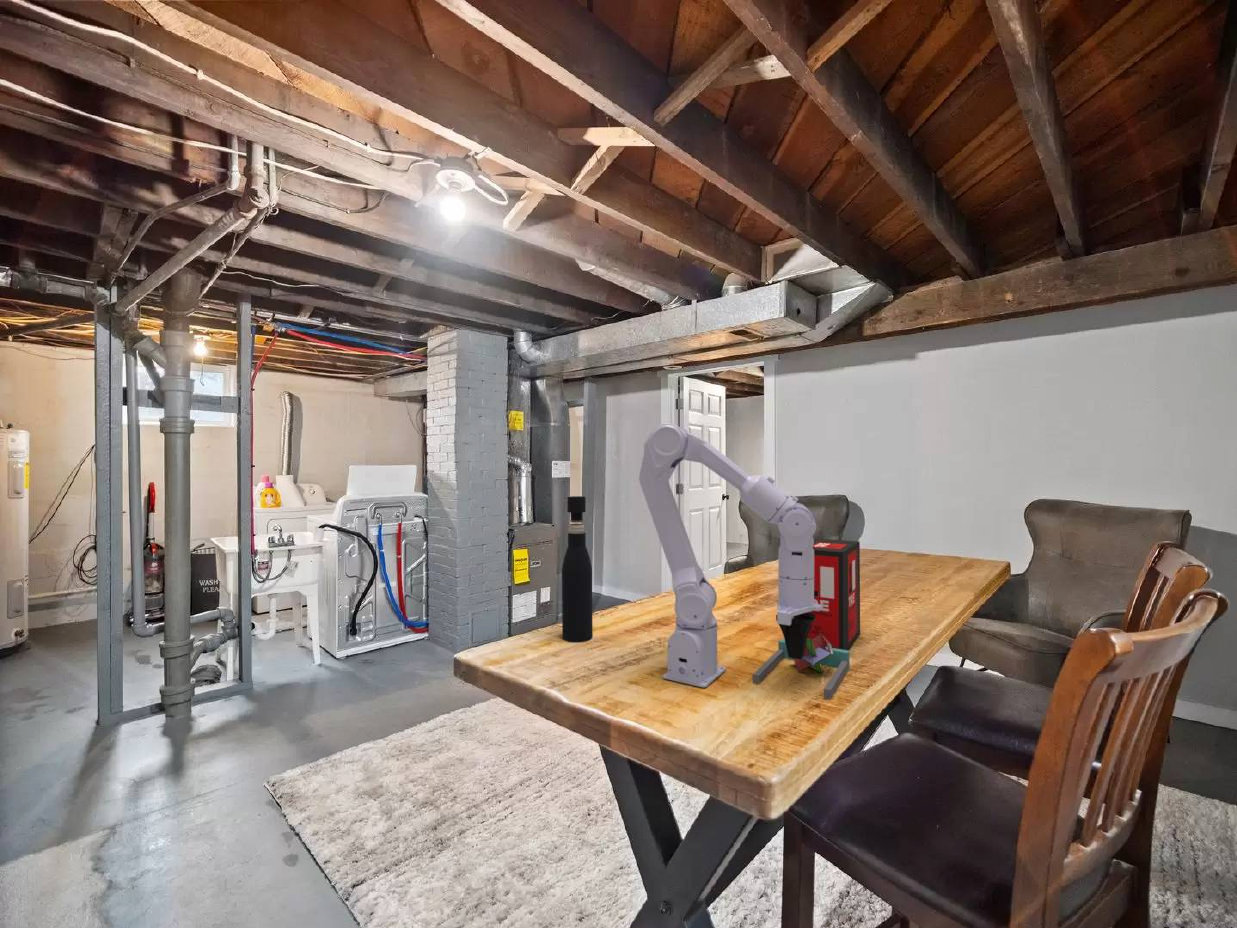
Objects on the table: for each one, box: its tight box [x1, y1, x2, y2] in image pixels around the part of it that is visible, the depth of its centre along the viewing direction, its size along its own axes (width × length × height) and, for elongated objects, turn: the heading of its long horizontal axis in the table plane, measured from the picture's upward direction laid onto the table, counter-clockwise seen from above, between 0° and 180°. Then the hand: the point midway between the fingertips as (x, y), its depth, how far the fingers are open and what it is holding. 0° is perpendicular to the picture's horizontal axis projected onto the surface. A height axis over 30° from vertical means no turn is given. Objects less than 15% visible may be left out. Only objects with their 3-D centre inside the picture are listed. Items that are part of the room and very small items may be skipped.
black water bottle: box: [561, 495, 593, 643], centre depth 117 cm, size 6×6×30 cm
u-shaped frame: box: [752, 638, 851, 701], centre depth 96 cm, size 16×12×3 cm
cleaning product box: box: [807, 538, 861, 651], centre depth 113 cm, size 16×9×20 cm, turn 146°
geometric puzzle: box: [791, 633, 833, 675], centre depth 98 cm, size 7×7×8 cm
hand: (795, 657), depth 92 cm, fingers closed
